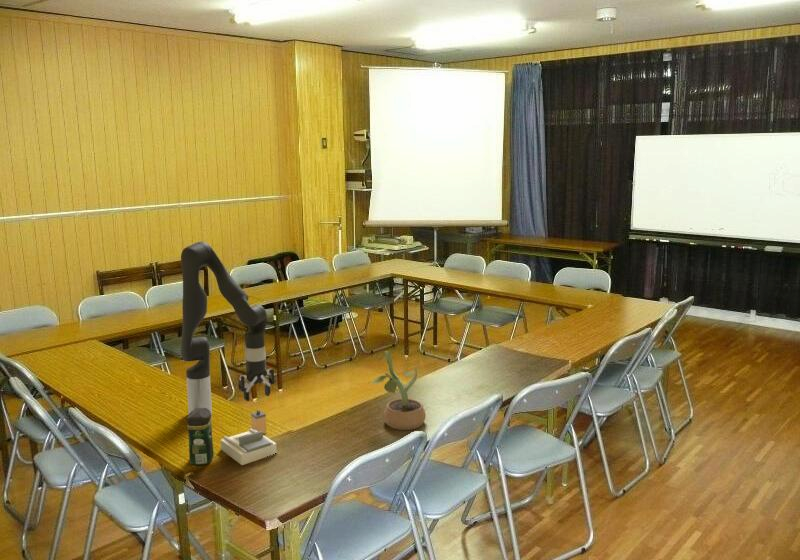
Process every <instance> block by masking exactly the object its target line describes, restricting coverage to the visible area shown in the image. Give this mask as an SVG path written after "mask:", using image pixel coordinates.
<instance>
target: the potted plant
mask: <svg viewBox="0 0 800 560" xmlns="http://www.w3.org/2000/svg"><path fill="white" fill-rule="evenodd" d="M383 353H384V355H382V356H381V357H380V358H379V359H378V362H380V361H381V360H382V359H383V358H384V357H385V358H386V362H387V364H388V370H389V374H388V373H387V372H386V373H384V375H380V376H378V377H377V378H375V379H374V381H373V382H371V384H370V386H371V385H376V384H379V383H382V382H383V381H384V380H386V378H388V381H387V382H386V383H385V384H384V387H383V389H384V390H385V391H386V392H388V393H393V394H394V393H395V392H396V390H397V388H398V389H399V393H400V396H401V398H399V399H398V398H397V399H393V400H391V401H389V402H388V403H387V404H386V406H385V408H384V411H383V420H384V422H385V423H386V425H387V426H388V427H390V428H392V429H395V430H399V431H410V430H416V429H418V428H420V427H421V426H422V425H423V424H424V422H425V419H426V415H427V414H426V411H425V408H424V406H423V404H422V403H421V401H418V400H415V399H411V398H409V395H408V393H407V392H408V391H409V390H410V389H411V387H413V385H414V384H415V383H416V381H417V378H418V370H417V369H418V368H417V367H416V368H415V370H411V371H404V372H402V373H403V375H404V376H406V377H409V376H411V375H412V374H414V375H413V377H412V378H411V380H410V381H409V382H408V383H407V384H406V385H404V384H403V382H402V381H401V380H400V377H399V376H398V375H397V374H396V372H395V371H394V367H393V361H392V355H391V354H390V352H389V351H387V350H384V352H383Z"/></svg>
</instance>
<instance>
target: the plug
mask: <svg viewBox="0 0 800 560" xmlns="http://www.w3.org/2000/svg"><path fill="white" fill-rule="evenodd" d="M250 416H251V418H250V419H251V428H252V429H253V430H254V429H255V430H256V431H262V432H263V433H266V434H267V413H265V412H264V411H262V410H259V409H258V410H256V411H255V412H251V415H250Z"/></svg>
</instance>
